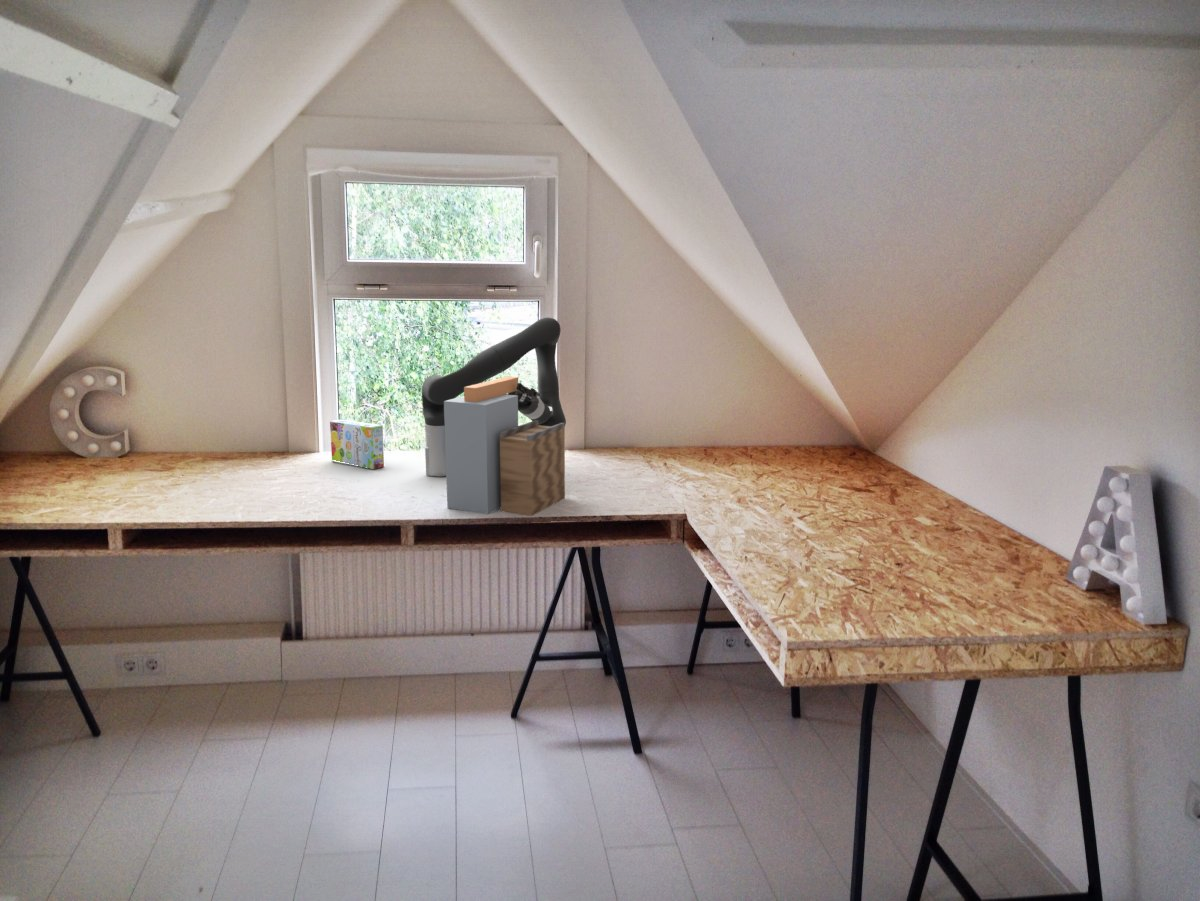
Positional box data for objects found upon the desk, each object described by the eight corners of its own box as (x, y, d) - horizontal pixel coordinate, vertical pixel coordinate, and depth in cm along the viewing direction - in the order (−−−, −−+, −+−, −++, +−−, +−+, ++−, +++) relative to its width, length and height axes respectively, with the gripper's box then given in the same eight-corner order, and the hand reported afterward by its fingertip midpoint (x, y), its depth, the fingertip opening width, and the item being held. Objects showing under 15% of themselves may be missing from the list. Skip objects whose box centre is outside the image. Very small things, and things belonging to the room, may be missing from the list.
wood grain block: (531, 515, 270) (530, 435, 265) (501, 511, 274) (499, 432, 269) (564, 498, 289) (564, 423, 284) (536, 494, 293) (535, 420, 288)
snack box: (385, 467, 327) (383, 424, 324) (373, 470, 323) (371, 427, 319) (342, 459, 338) (340, 418, 335) (330, 462, 334) (328, 420, 330)
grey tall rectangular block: (487, 514, 272) (485, 404, 265) (447, 508, 278) (443, 401, 270) (519, 499, 288) (517, 395, 281) (480, 493, 293) (477, 392, 286)
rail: (476, 401, 269) (475, 388, 269) (464, 400, 271) (463, 387, 270) (518, 390, 291) (518, 377, 290) (507, 389, 292) (507, 376, 291)
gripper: (512, 391, 305) (489, 371, 291) (551, 394, 299) (529, 374, 285) (506, 413, 303) (482, 394, 289) (545, 416, 298) (523, 397, 283)
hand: (505, 384), depth 287 cm, fingers open, 8 cm apart
